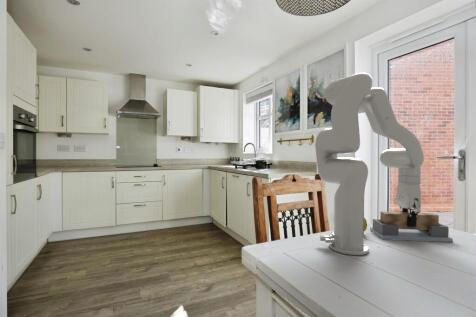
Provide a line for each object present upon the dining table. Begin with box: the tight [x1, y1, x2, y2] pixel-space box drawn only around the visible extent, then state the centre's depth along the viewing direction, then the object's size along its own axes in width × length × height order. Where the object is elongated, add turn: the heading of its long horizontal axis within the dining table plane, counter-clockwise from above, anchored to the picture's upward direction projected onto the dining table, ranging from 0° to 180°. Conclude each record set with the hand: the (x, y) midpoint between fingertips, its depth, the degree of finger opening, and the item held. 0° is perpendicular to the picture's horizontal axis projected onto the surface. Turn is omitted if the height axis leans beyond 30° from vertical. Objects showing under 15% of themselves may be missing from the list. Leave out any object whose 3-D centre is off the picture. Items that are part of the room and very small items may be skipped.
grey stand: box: [369, 218, 454, 243], centre depth 102 cm, size 25×12×5 cm, turn 84°
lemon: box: [364, 217, 368, 232], centre depth 104 cm, size 6×6×8 cm
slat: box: [379, 211, 440, 230], centre depth 102 cm, size 20×4×6 cm, turn 84°
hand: (408, 224), depth 102 cm, fingers closed on slat, 3 cm apart
